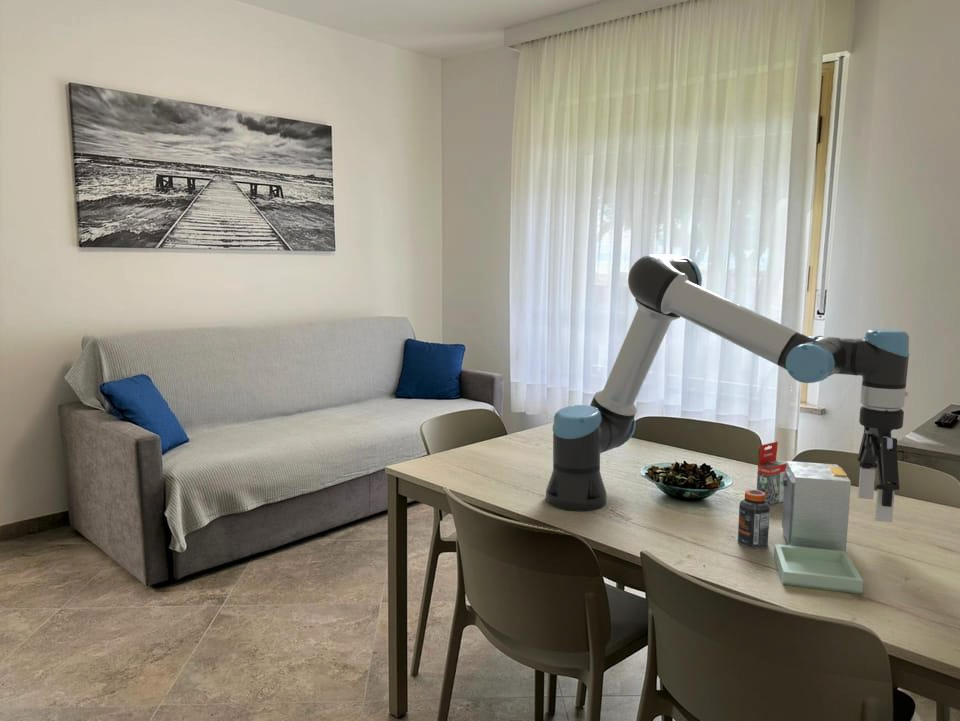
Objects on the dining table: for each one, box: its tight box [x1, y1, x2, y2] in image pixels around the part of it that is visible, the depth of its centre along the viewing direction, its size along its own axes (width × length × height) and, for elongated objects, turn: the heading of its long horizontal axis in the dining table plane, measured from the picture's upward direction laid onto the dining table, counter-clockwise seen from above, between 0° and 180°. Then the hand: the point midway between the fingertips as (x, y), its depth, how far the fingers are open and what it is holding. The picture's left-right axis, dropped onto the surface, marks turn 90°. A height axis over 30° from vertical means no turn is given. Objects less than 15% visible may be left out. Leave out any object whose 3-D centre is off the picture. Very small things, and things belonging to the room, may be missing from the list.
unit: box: [781, 460, 852, 552], centre depth 139 cm, size 11×12×16 cm
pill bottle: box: [737, 489, 771, 549], centre depth 140 cm, size 6×6×11 cm
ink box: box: [756, 441, 787, 507], centre depth 165 cm, size 4×8×15 cm, turn 123°
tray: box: [773, 543, 864, 595], centre depth 126 cm, size 13×13×2 cm
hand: (874, 509), depth 135 cm, fingers open, 13 cm apart
